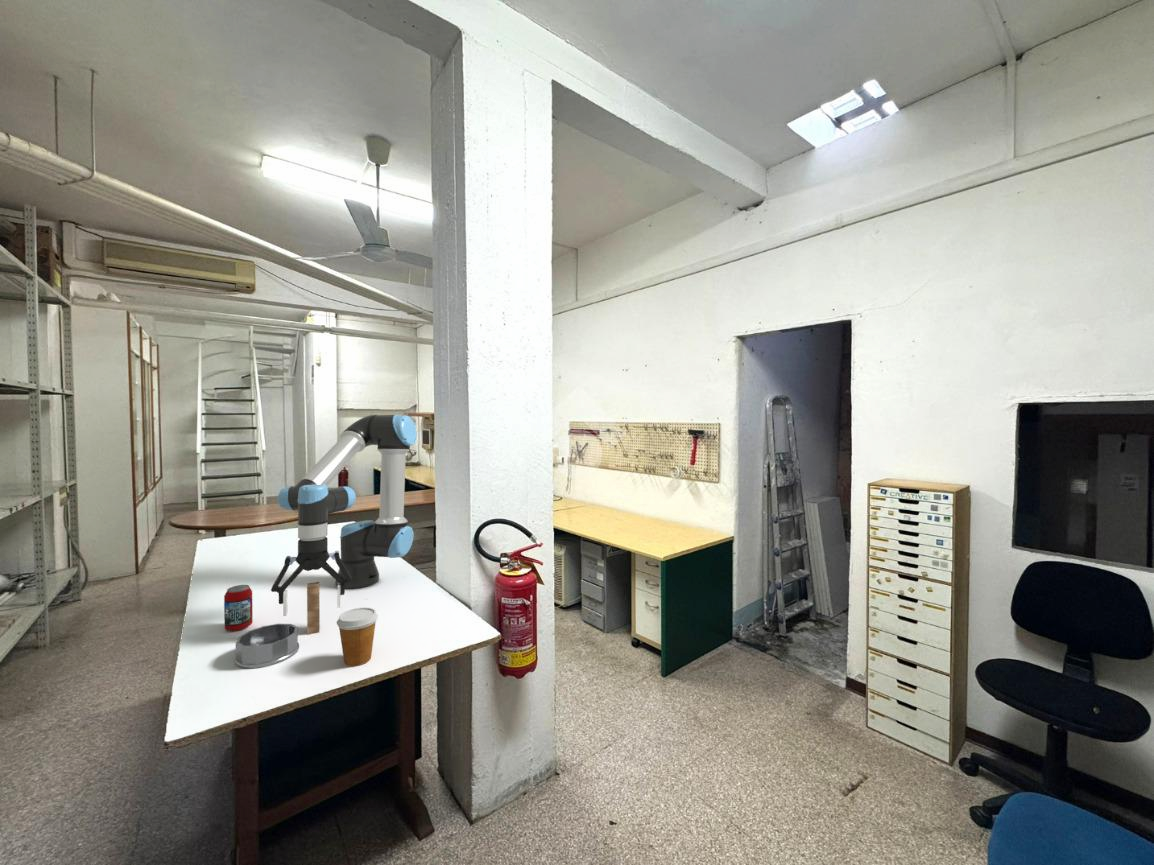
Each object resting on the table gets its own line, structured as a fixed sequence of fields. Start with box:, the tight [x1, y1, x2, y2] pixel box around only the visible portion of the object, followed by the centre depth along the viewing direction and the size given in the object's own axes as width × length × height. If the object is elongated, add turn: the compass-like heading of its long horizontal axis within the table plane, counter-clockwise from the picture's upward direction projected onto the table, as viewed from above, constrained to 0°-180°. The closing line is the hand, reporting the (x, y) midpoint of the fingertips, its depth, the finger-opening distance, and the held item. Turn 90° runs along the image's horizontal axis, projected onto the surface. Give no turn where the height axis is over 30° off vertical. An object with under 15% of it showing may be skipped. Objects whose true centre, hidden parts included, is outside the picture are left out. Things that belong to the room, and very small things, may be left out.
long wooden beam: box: [306, 581, 321, 635], centre depth 133 cm, size 3×3×14 cm
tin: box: [234, 623, 300, 670], centre depth 120 cm, size 14×14×5 cm
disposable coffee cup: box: [336, 607, 379, 667], centre depth 117 cm, size 10×10×12 cm
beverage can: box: [223, 584, 253, 632], centre depth 136 cm, size 7×7×12 cm
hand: (312, 610), depth 133 cm, fingers open, 13 cm apart
